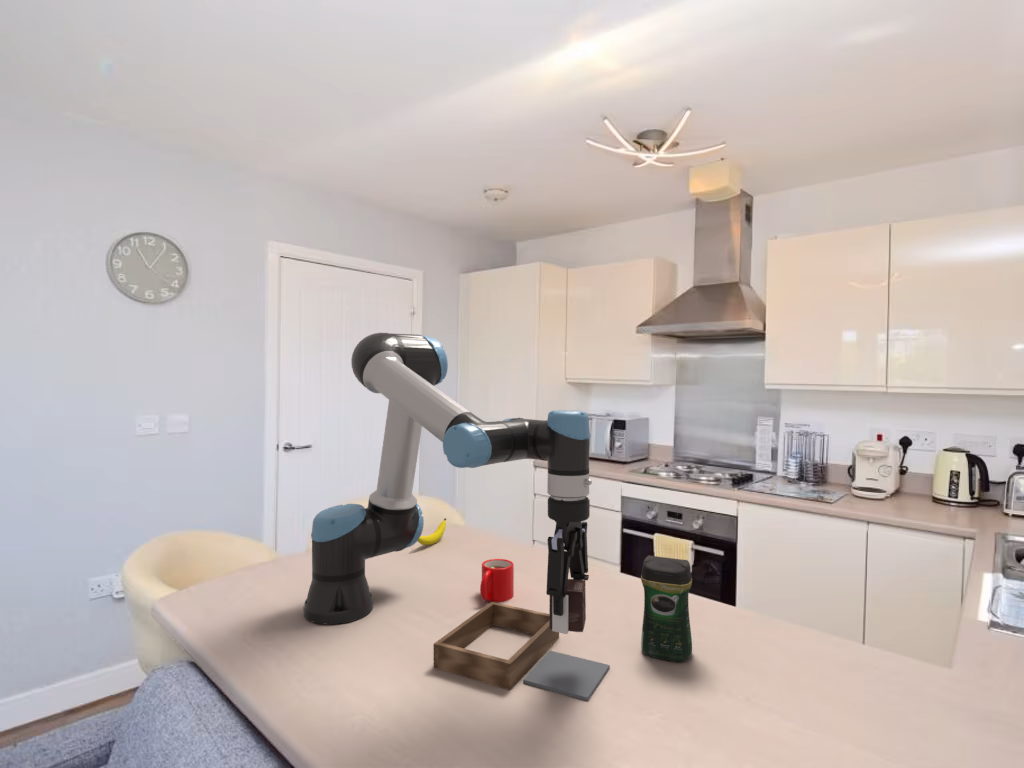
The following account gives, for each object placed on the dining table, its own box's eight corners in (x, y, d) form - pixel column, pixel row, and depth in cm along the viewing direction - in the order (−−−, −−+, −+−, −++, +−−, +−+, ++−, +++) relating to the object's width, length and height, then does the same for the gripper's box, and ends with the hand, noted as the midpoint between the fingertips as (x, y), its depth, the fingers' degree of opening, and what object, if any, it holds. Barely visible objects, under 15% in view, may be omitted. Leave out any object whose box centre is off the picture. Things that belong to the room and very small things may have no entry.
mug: (468, 604, 134) (468, 571, 134) (490, 587, 145) (490, 557, 145) (498, 610, 131) (498, 576, 131) (518, 592, 142) (518, 561, 142)
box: (583, 633, 99) (583, 591, 99) (548, 630, 100) (548, 589, 100) (586, 619, 105) (586, 579, 105) (553, 616, 106) (553, 577, 106)
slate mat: (523, 683, 100) (523, 679, 100) (550, 653, 111) (550, 650, 111) (587, 701, 94) (587, 697, 94) (609, 668, 105) (609, 665, 105)
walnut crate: (433, 667, 105) (433, 643, 105) (491, 622, 125) (491, 601, 124) (510, 689, 98) (510, 664, 98) (559, 637, 117) (559, 616, 117)
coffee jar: (694, 648, 113) (694, 555, 113) (689, 667, 106) (690, 568, 105) (645, 639, 117) (645, 549, 117) (637, 656, 110) (637, 560, 109)
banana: (411, 552, 173) (411, 532, 173) (441, 536, 191) (441, 517, 191) (419, 553, 172) (419, 533, 172) (449, 537, 190) (449, 518, 190)
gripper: (567, 509, 91) (567, 651, 92) (605, 488, 109) (605, 607, 109) (525, 505, 95) (525, 641, 95) (569, 485, 113) (569, 600, 113)
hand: (568, 623), depth 102 cm, fingers closed on box, 7 cm apart
